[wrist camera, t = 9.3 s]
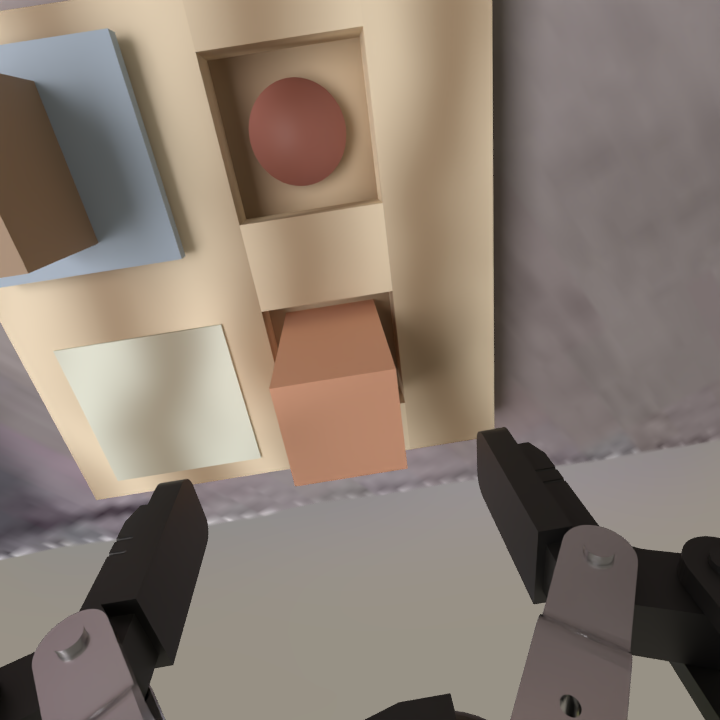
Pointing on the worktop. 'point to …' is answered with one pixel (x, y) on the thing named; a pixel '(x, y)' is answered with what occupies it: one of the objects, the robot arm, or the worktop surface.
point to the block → (337, 394)
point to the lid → (76, 164)
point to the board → (276, 227)
